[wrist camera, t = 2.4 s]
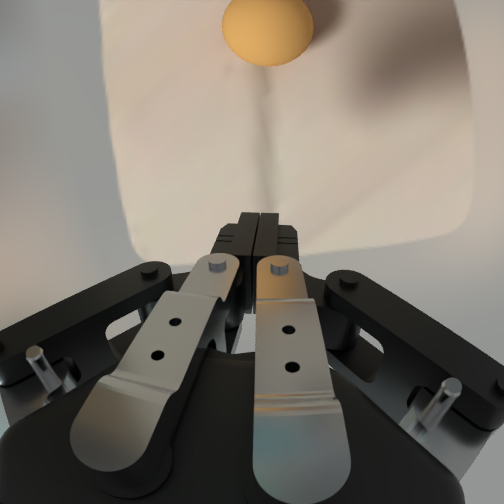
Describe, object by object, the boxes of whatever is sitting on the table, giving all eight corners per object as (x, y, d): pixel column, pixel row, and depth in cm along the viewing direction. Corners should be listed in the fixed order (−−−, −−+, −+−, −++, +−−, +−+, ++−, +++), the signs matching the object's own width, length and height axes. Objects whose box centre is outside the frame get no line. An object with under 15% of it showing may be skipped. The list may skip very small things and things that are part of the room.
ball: (229, 0, 15) (213, -23, 11) (309, 0, 15) (316, -24, 10) (230, 69, 17) (213, 64, 13) (310, 70, 17) (318, 64, 13)
